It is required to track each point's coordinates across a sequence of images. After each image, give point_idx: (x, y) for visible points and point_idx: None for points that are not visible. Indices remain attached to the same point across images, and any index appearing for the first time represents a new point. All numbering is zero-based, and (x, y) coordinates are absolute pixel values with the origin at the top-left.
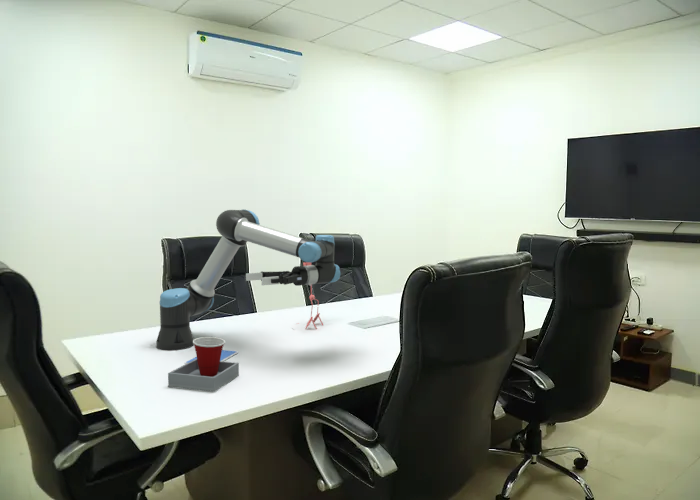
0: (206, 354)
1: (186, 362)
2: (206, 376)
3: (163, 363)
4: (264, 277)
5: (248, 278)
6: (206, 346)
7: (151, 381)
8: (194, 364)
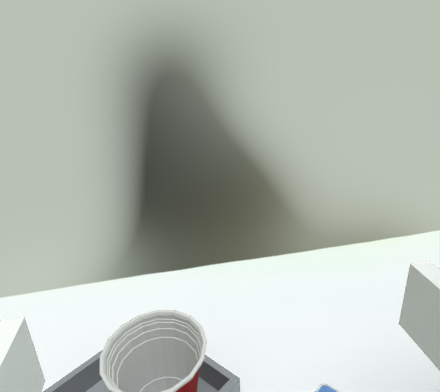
0: (124, 361)
1: (322, 386)
2: (63, 382)
3: (335, 342)
4: (4, 343)
5: (415, 319)
6: (109, 339)
7: (205, 318)
8: (220, 380)
